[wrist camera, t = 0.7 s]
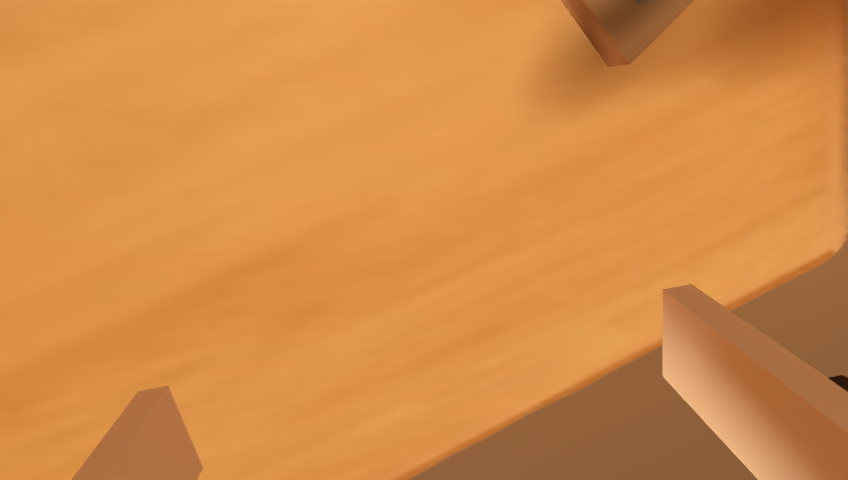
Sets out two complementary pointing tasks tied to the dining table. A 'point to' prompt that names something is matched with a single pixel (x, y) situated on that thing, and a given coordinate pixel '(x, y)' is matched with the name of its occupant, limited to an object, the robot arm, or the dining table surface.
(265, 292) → the dining table surface
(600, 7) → the plinth
